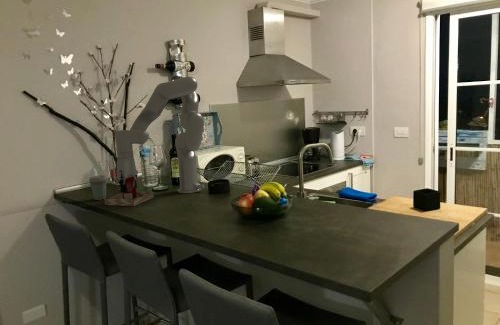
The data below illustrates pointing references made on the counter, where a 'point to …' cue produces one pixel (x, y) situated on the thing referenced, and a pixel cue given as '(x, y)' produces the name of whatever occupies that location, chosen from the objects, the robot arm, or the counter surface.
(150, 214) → the counter surface
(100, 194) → the coffee cup
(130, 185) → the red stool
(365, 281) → the counter surface
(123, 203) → the tray
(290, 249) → the counter surface
